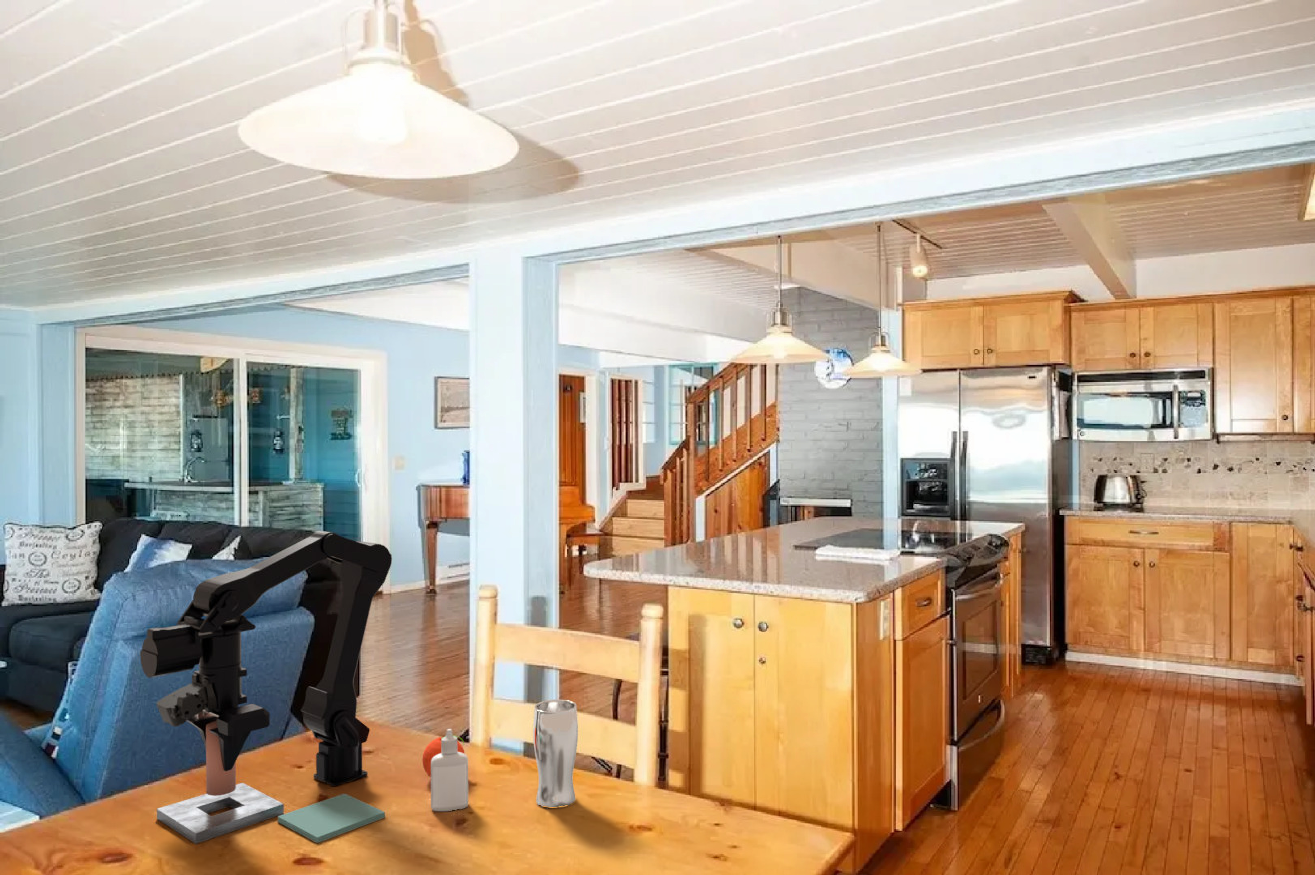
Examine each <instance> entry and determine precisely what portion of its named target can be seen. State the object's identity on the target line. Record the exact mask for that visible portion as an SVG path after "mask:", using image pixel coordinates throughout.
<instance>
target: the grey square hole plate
mask: <svg viewBox="0 0 1315 875" xmlns="http://www.w3.org/2000/svg"><path fill="white" fill-rule="evenodd" d="M284 805H285V804H284V803H282V802H280V801H279V800H277V799H275V798H273V797H271V796H269V795H267V794H266V793H263V792H261V791H260V790H258V789H256V788H253V787H251V786H250V785H247V784H246V783H244V782H239V783H236V789H235V790H234V791H233V792H231V793H228V794H224V795H218V796H212V795H208V794H207V793H205V794H201V795H198V796H194V797H192V798H188V799H184V800H181V801H179V802H174V803H172V804H171V803H170V804H168V805H165V806H162V807H158V808H156V819H157V820H158V821H160V822H161V823H163V824H164V825H166V826H167V827H169V828H170V829H173V830H174V831H175V832H176V833H179V834H180V835H181V836H183V837H185V838H186V839H187V840H190V841H191V842H192V843H194V844H195V845H196V844H199V843H202V842H205V841H208V840H211V839H215V838H217V837H220V836H222V835H226V834H229V833H232V832H234V831H238V830H241V829H243V828H247V827H249V826H252V825H254V824H255V825H256V824H258V823H261V822H263V821H266V820H270V819H273V818H276V817H278V816H280V815H283V814H285V813H284V812H285V806H284ZM229 807H230V808H231V809H229V810H227V811H223V812H220V813H218V814H214V815H210V814H211V813H214V812H217V811H220V810H224V809H226V808H229Z"/></svg>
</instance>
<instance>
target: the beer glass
mask: <svg viewBox="0 0 1315 875" xmlns="http://www.w3.org/2000/svg"><path fill="white" fill-rule="evenodd" d="M577 711H578V710H577V704H576V702H574V701H572V700H567V699H548V700H543V701H540V702H538V703H536V704H535V705H534V715H533V727H532V734H533V736H532V737H533V738H532V739H533V741H532V742H533V747H534V754H535V761H536V766H537V773H538V787H537V792H536V799H535V800H536V801H535V802H536V804H537V805H538V806H539V805H541V806H547V807H559V806H565V805H570V804H571V803H573V802H574V801H576V793H575V788H574V783H573V782H574V781H573V780H574V779H573V776H574V769H575V768H574V766H575V760H576V757H577V756H576V755H577V748H578V741H579V740H578V739H579V724H578V712H577ZM574 803H575V802H574ZM574 803H573V804H574ZM541 806H540V807H541ZM570 806H571V805H570Z"/></svg>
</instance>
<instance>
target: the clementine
mask: <svg viewBox="0 0 1315 875" xmlns="http://www.w3.org/2000/svg"><path fill="white" fill-rule="evenodd" d="M454 736H455V737H457V738H458V739H460V740H461V742H462V744H463V745H465V742H464V740H463V738H462V737H460V736H457V735H454ZM443 737H444V736H439V737H436V738H435V739H433V740H432V741H430V742H429V743H428V744H427V745H426V747H425V749H424V751H423V753H422V765H423V766H422V767H423V769H424V771H425V773H426V774H427V775H428V776H429V777H430V778H431V760H432V758H433V757H434V756H436V755H438V754H440V753H442V752H441V739H442V738H443ZM461 742H460V741H458V740H457V752H461V753H464V754H465V755H466V753H465V750H464V747H463V745H462V744H461Z"/></svg>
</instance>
